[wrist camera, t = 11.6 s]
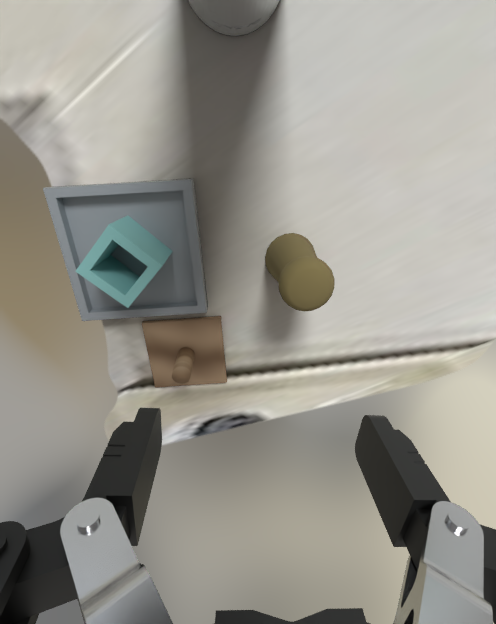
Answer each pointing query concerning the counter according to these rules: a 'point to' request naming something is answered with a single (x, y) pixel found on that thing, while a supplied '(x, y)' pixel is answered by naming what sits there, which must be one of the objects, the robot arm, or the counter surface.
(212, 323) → the square board with knob
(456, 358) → the counter surface
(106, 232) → the open box
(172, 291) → the tray
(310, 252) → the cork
